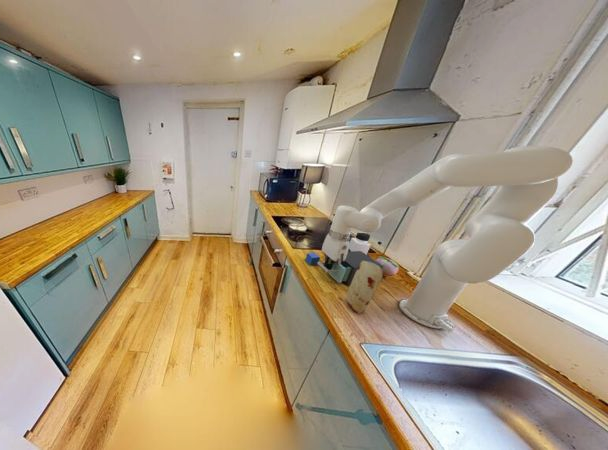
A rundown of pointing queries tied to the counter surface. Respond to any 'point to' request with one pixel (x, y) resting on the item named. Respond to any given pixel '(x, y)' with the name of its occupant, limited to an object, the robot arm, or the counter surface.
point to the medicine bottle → (360, 243)
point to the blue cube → (312, 258)
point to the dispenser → (357, 263)
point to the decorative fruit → (388, 266)
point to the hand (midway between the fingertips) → (327, 268)
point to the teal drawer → (338, 271)
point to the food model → (363, 285)
